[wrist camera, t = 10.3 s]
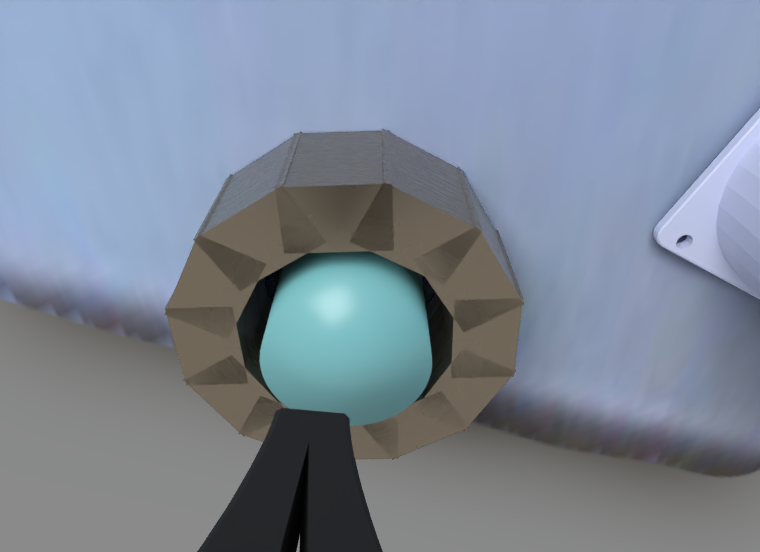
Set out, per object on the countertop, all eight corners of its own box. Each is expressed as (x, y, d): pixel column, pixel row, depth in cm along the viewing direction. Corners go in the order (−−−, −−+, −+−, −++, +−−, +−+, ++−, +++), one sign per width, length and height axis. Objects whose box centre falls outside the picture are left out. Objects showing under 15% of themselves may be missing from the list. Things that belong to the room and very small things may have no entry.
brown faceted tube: (556, 218, 19) (594, 284, 16) (405, 411, 24) (410, 494, 21) (273, 69, 17) (246, 111, 13) (167, 319, 22) (128, 396, 18)
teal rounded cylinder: (446, 244, 20) (464, 335, 16) (382, 342, 22) (383, 444, 18) (317, 185, 19) (300, 266, 15) (263, 295, 21) (235, 392, 17)
